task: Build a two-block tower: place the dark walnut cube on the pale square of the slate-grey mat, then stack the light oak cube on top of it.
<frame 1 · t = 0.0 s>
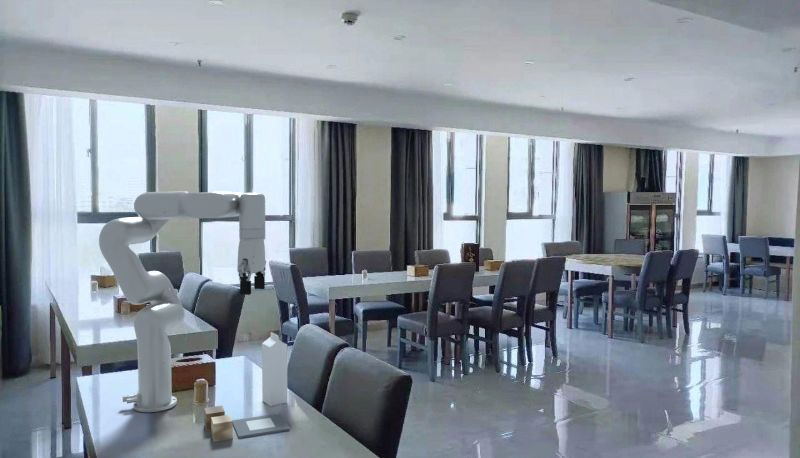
hand: (252, 291, 175), 37 cm above the table, tool pointing down, fingers open, 9 cm apart
milk: (274, 402, 187), on the table
walnut block: (214, 426, 167), on the table
mat: (260, 426, 167), on the table
oak block: (222, 437, 160), on the table
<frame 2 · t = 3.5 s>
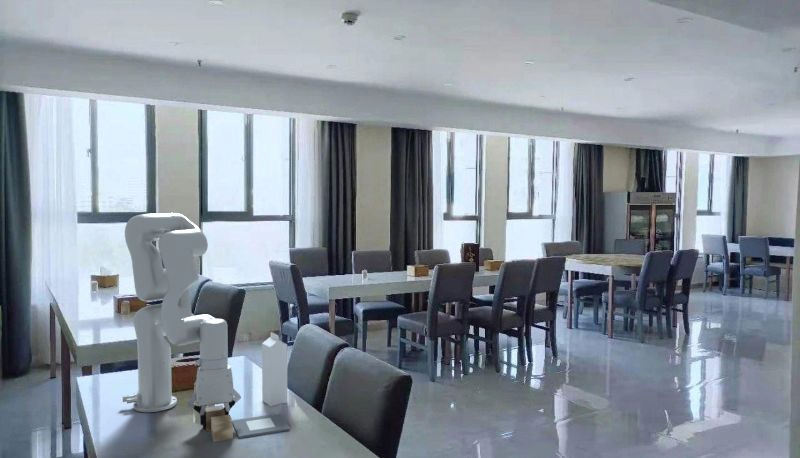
hand: (214, 424, 167), 0 cm above the table, tool pointing down, fingers closed on walnut block, 5 cm apart
walnut block: (214, 426, 167), on the table, touching gripper
everything else where it was.
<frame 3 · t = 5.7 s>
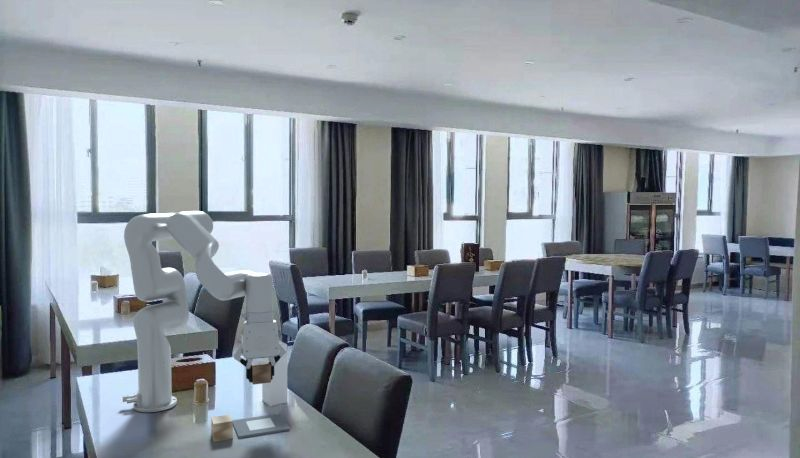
hand: (260, 379, 167), 14 cm above the table, tool pointing down, fingers closed on walnut block, 5 cm apart
walnut block: (260, 380, 167), point 13 cm above the table, touching gripper
everything else where it was.
when the fingers open (2 cm above the table, at t = 8.1 s): walnut block stays where it is, resting on mat.
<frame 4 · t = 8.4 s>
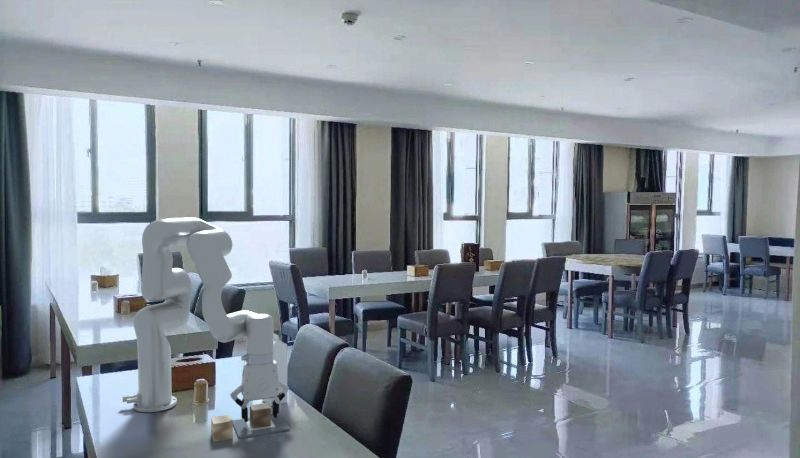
hand: (260, 418, 167), 2 cm above the table, tool pointing down, fingers open, 7 cm apart
walnut block: (260, 424, 167), point 1 cm above the table, touching mat
everything else where it was.
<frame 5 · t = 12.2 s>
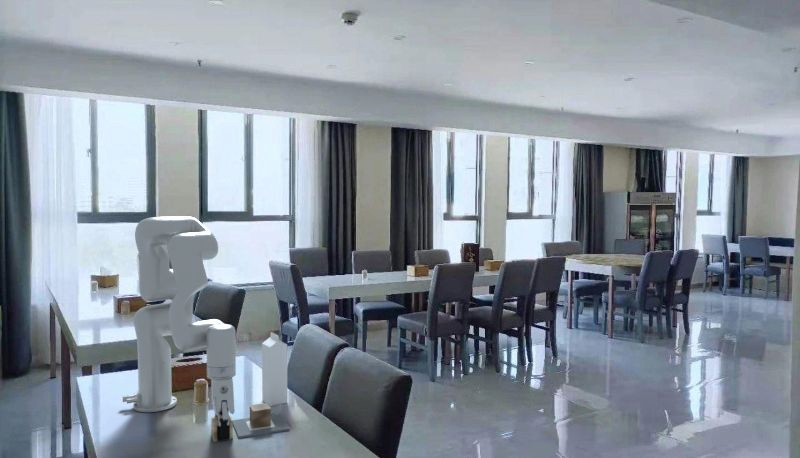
hand: (222, 434, 160), 0 cm above the table, tool pointing down, fingers closed on oak block, 5 cm apart
oak block: (222, 436, 160), on the table, touching gripper
everything else where it was.
when the fingers open (7 cm above the table, at t = 17.5 s): oak block stays where it is, resting on walnut block.
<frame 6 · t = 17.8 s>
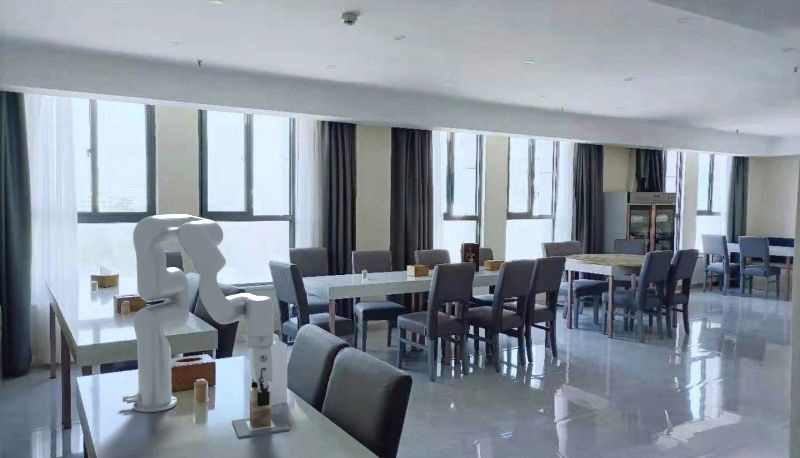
hand: (260, 400, 167), 8 cm above the table, tool pointing down, fingers open, 8 cm apart
walnut block: (260, 424, 167), point 1 cm above the table, touching mat, oak block
oak block: (260, 406, 167), point 6 cm above the table, touching walnut block
everything else where it was.
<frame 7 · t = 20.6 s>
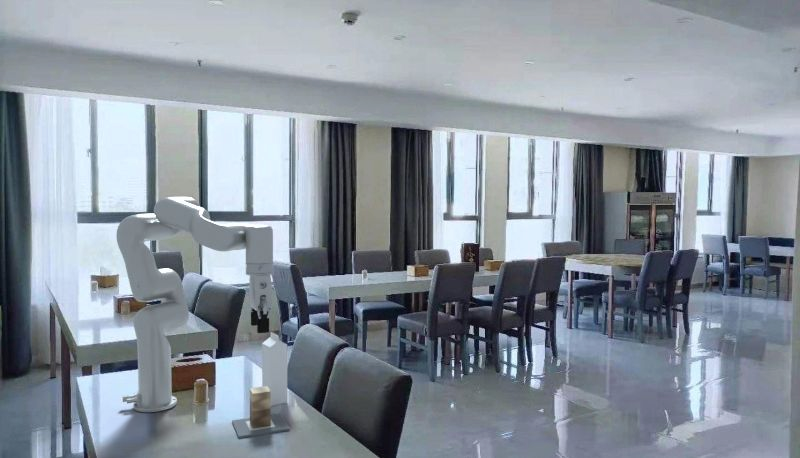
hand: (259, 328, 166), 28 cm above the table, tool pointing down, fingers open, 9 cm apart
nothing on the table moved.
at the end: walnut block 0.0 cm off-centre on the mat, point 0.6 cm above the mat's base; oak block 0.0 cm off-centre on the walnut block, point 5.0 cm above the walnut block's base; the gripper is holding nothing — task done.
